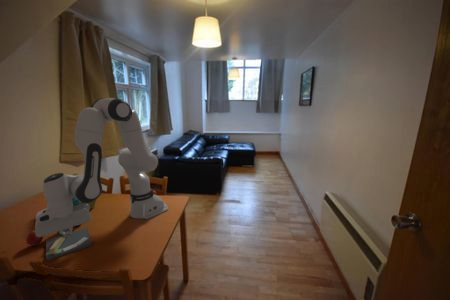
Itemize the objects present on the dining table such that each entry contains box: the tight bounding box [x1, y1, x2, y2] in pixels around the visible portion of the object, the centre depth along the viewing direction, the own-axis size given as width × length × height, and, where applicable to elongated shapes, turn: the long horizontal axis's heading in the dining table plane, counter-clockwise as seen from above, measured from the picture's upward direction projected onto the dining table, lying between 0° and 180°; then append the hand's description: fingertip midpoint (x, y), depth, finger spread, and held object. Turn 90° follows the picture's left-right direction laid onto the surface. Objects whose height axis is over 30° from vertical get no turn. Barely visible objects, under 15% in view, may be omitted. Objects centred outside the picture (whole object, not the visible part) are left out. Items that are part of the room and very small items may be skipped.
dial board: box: [45, 227, 93, 262], centre depth 103 cm, size 17×16×1 cm
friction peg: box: [49, 228, 69, 254], centre depth 100 cm, size 2×15×6 cm, turn 16°
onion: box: [25, 230, 44, 247], centre depth 101 cm, size 6×6×8 cm
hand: (67, 236), depth 98 cm, fingers closed
